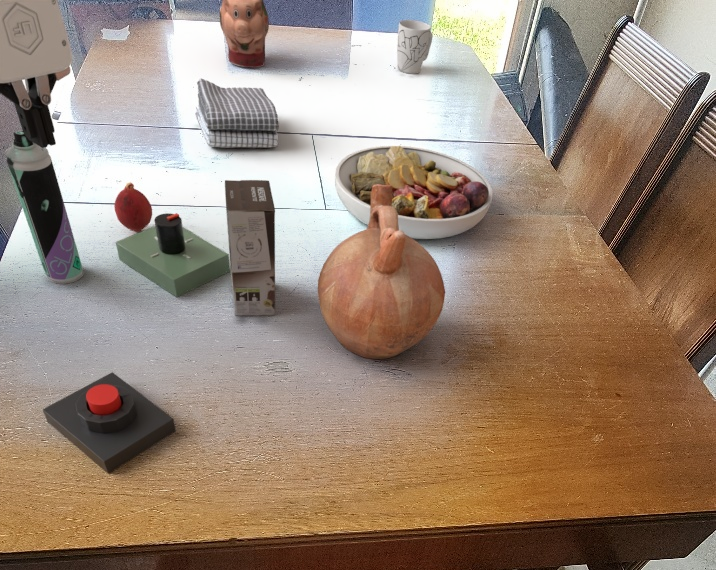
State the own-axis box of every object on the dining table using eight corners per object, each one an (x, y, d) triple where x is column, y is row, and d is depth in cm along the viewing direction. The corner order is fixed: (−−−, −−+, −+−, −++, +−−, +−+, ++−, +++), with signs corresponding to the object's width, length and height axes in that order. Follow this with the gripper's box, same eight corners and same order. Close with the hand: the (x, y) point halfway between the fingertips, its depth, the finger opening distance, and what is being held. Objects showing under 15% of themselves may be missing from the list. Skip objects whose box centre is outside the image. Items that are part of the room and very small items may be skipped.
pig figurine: (220, 46, 163) (216, -21, 152) (266, 48, 165) (264, -18, 154) (224, 73, 151) (219, 2, 140) (273, 75, 153) (272, 6, 142)
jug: (443, 376, 87) (478, 245, 71) (318, 374, 85) (326, 237, 69) (424, 302, 98) (451, 174, 83) (313, 297, 96) (319, 165, 80)
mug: (415, 61, 171) (422, 17, 163) (437, 71, 167) (445, 26, 160) (387, 67, 165) (392, 21, 158) (408, 77, 162) (415, 31, 154)
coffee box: (276, 316, 92) (275, 211, 79) (234, 316, 91) (226, 210, 78) (272, 282, 98) (270, 178, 85) (231, 282, 96) (223, 177, 84)
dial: (170, 257, 94) (166, 227, 90) (153, 247, 95) (148, 217, 91) (190, 248, 96) (186, 218, 92) (173, 238, 97) (169, 208, 93)
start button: (83, 405, 72) (79, 394, 71) (109, 391, 74) (105, 379, 72) (102, 420, 71) (98, 409, 69) (127, 405, 73) (124, 394, 71)
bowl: (308, 218, 111) (309, 173, 105) (366, 158, 129) (370, 117, 123) (462, 264, 107) (473, 221, 100) (500, 196, 124) (512, 155, 118)
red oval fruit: (143, 244, 101) (134, 195, 94) (113, 235, 101) (101, 186, 95) (161, 228, 104) (153, 180, 98) (131, 220, 105) (122, 171, 99)
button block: (47, 422, 74) (37, 398, 71) (116, 384, 80) (109, 360, 77) (108, 474, 71) (100, 450, 67) (176, 431, 76) (171, 407, 73)
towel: (208, 153, 123) (204, 110, 117) (195, 116, 133) (191, 75, 127) (281, 151, 127) (281, 109, 121) (263, 115, 137) (262, 75, 131)
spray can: (69, 287, 91) (24, 145, 76) (38, 277, 92) (-13, 134, 76) (91, 270, 95) (52, 129, 79) (61, 260, 95) (16, 119, 80)
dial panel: (119, 259, 97) (114, 241, 95) (173, 236, 103) (170, 218, 100) (176, 297, 93) (173, 278, 90) (230, 271, 98) (228, 253, 96)
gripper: (-82, -57, 50) (-1, 172, 65) (75, -70, 58) (116, 137, 73) (-126, -78, 53) (-39, 147, 67) (30, -88, 61) (78, 116, 75)
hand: (42, 141), depth 70 cm, fingers closed
